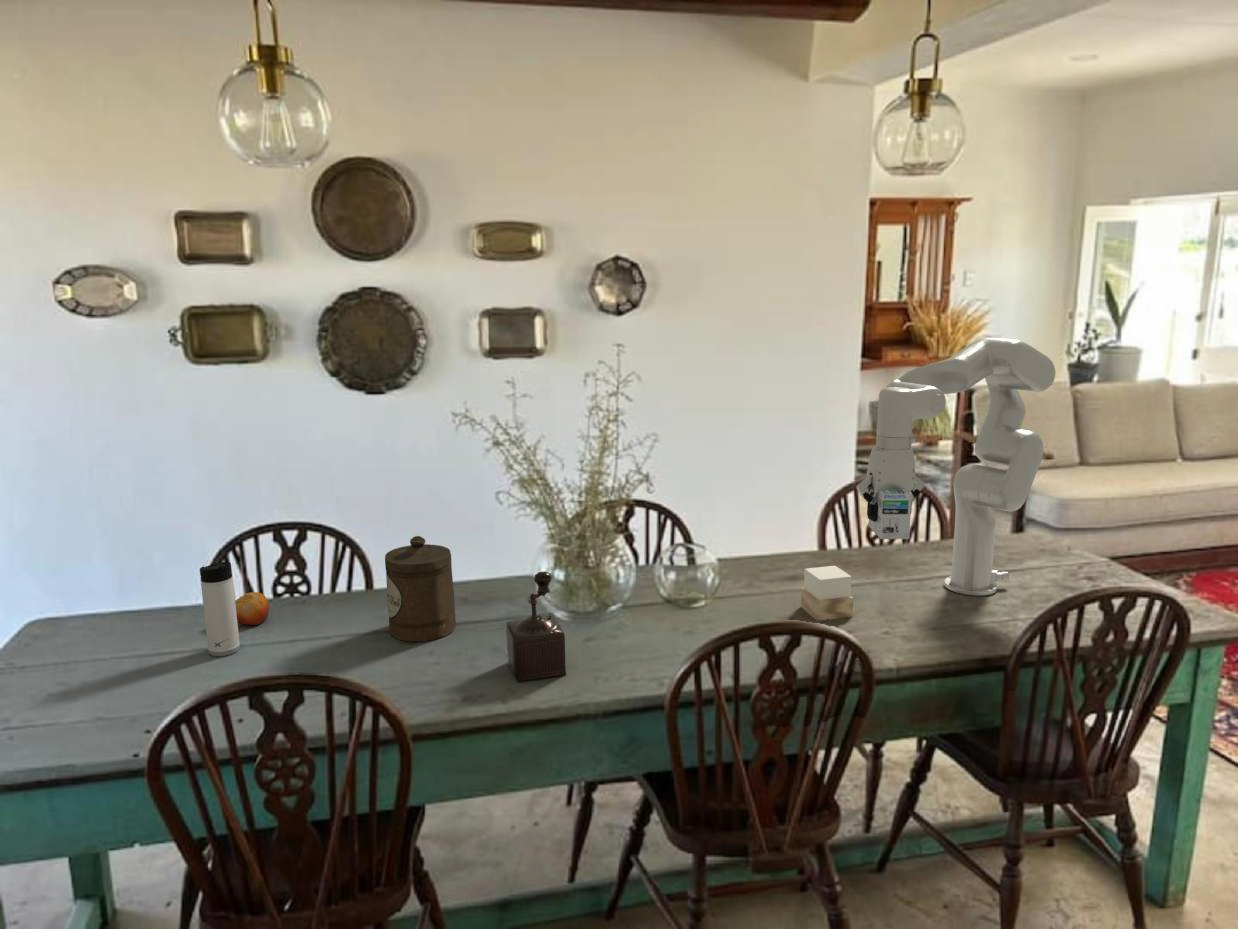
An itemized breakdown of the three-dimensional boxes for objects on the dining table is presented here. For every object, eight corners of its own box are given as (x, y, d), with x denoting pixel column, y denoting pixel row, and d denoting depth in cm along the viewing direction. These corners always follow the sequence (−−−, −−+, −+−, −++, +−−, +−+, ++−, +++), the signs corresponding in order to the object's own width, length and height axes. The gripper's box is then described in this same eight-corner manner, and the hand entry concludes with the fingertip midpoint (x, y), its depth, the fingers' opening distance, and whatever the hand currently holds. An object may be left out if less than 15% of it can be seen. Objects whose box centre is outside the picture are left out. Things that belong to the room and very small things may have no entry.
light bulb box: (910, 539, 208) (913, 492, 206) (879, 540, 208) (882, 493, 206) (895, 526, 219) (898, 481, 216) (867, 526, 219) (869, 481, 216)
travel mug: (221, 659, 198) (212, 570, 194) (202, 653, 201) (192, 564, 197) (247, 649, 203) (238, 561, 199) (228, 643, 207) (218, 556, 202)
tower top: (834, 585, 226) (835, 565, 224) (850, 596, 218) (851, 576, 217) (803, 588, 223) (804, 568, 222) (819, 600, 216) (820, 579, 215)
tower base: (835, 604, 227) (836, 584, 226) (852, 618, 218) (853, 597, 217) (800, 607, 225) (801, 588, 224) (816, 621, 216) (817, 601, 215)
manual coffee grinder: (570, 676, 189) (568, 592, 185) (516, 683, 186) (513, 598, 182) (552, 646, 204) (550, 567, 200) (502, 652, 200) (499, 573, 196)
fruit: (283, 610, 221) (268, 588, 216) (263, 637, 216) (247, 615, 211) (258, 605, 225) (242, 584, 219) (237, 631, 220) (220, 610, 214)
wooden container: (394, 618, 220) (388, 528, 215) (458, 615, 221) (453, 526, 216) (384, 644, 205) (378, 548, 201) (452, 641, 207) (448, 546, 202)
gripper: (919, 438, 214) (914, 512, 218) (849, 441, 211) (846, 516, 215) (937, 444, 207) (932, 520, 211) (865, 448, 204) (861, 525, 207)
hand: (888, 518), depth 213 cm, fingers closed on light bulb box, 7 cm apart
